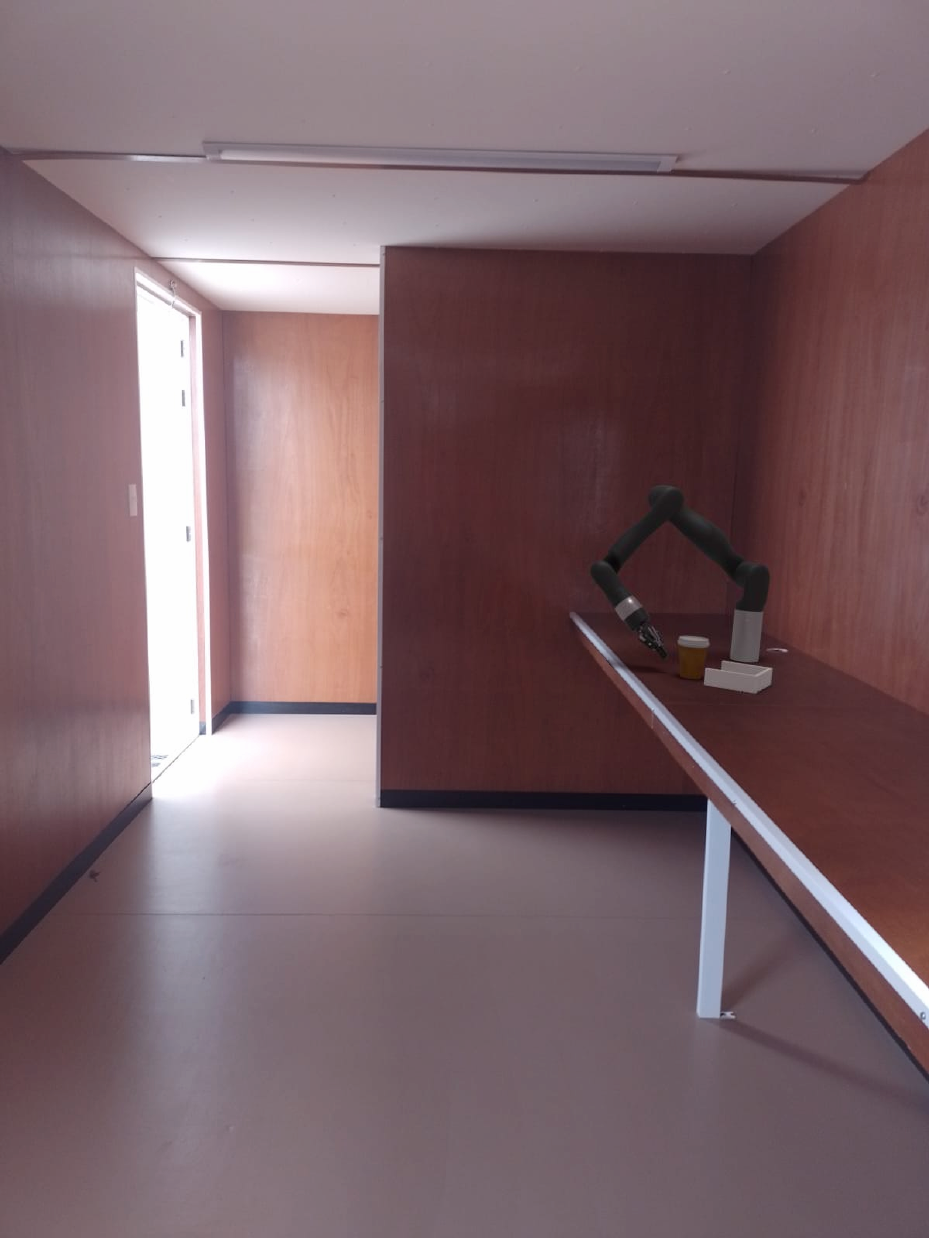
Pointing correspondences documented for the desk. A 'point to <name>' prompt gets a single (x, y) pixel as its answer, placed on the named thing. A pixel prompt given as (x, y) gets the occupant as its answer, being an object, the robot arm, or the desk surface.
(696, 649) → the disposable coffee cup
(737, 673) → the grey bay
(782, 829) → the desk surface
